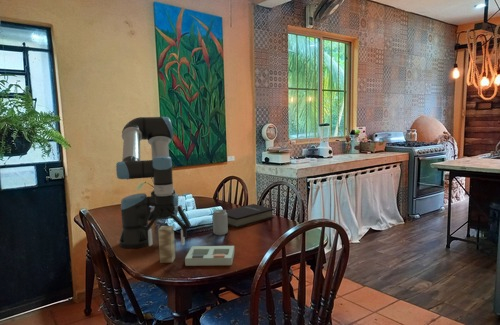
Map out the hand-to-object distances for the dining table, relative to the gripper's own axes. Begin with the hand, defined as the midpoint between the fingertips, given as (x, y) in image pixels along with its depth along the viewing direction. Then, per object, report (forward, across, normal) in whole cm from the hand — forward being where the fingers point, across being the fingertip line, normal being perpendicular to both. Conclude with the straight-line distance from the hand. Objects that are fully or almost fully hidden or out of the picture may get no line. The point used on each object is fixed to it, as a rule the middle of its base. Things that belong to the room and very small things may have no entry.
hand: (166, 244), depth 144 cm
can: (+7, +18, +34) cm, 39 cm away
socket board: (+7, +18, +1) cm, 19 cm away
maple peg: (+7, 0, 0) cm, 7 cm away
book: (+7, +29, +59) cm, 66 cm away
